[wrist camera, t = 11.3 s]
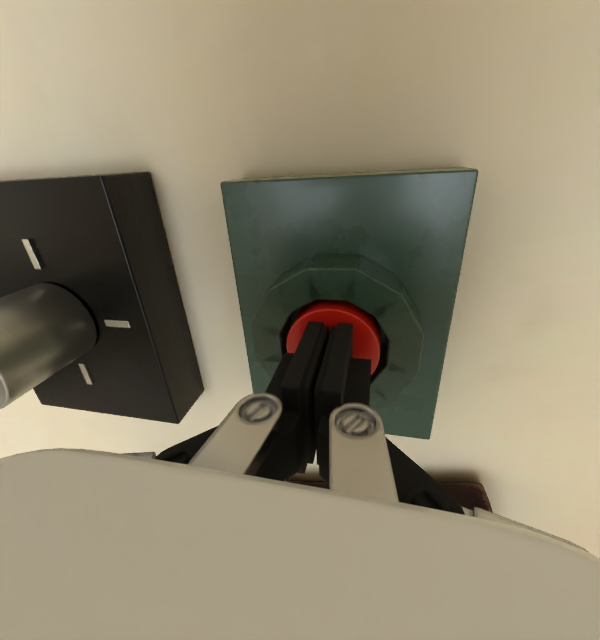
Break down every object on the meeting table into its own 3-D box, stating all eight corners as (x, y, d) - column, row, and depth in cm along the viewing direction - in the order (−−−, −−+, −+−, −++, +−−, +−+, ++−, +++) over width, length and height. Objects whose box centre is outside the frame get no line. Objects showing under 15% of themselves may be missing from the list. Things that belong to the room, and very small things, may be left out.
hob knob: (54, 353, 18) (-48, 415, 13) (13, 286, 16) (-118, 333, 12) (110, 350, 16) (18, 417, 12) (72, 278, 15) (-49, 326, 11)
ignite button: (293, 289, 13) (282, 306, 12) (383, 292, 12) (383, 311, 11) (298, 361, 15) (289, 385, 13) (377, 367, 14) (377, 394, 12)
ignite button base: (241, 178, 14) (195, 186, 10) (463, 166, 12) (497, 172, 8) (269, 391, 19) (244, 443, 16) (424, 409, 17) (435, 472, 14)
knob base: (-11, 181, 17) (-86, 186, 14) (150, 171, 15) (97, 175, 12) (79, 376, 23) (38, 406, 20) (204, 390, 21) (177, 426, 18)
